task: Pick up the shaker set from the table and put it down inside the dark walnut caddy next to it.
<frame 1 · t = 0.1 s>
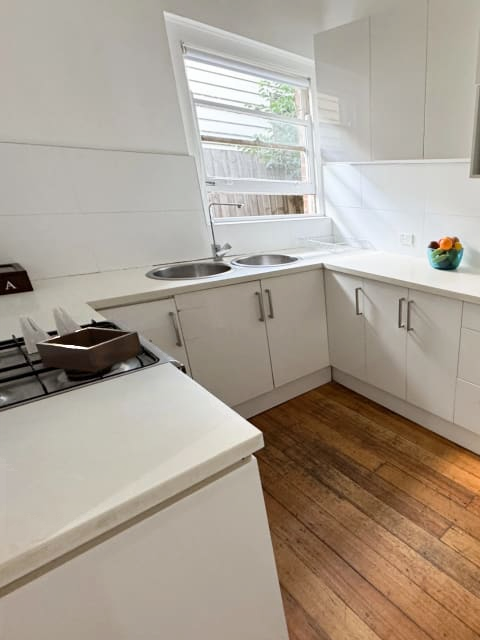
caddy: (95, 358, 95), on the worktop
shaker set: (60, 347, 102), on the worktop
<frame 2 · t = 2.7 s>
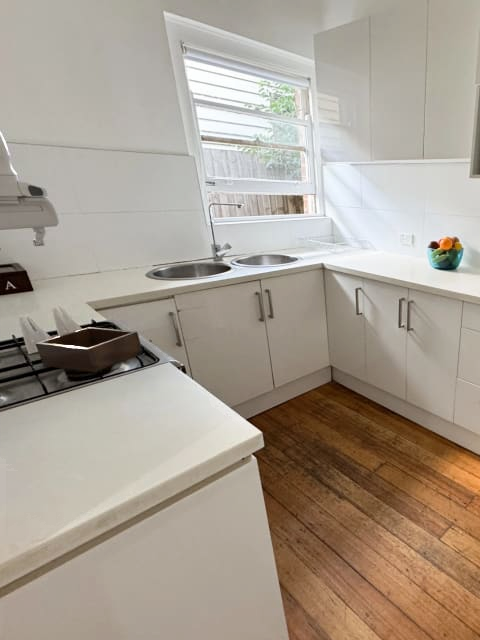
hand: (18, 248, 95), 26 cm above the worktop, tool pointing down, fingers open, 8 cm apart
nothing on the worktop moved.
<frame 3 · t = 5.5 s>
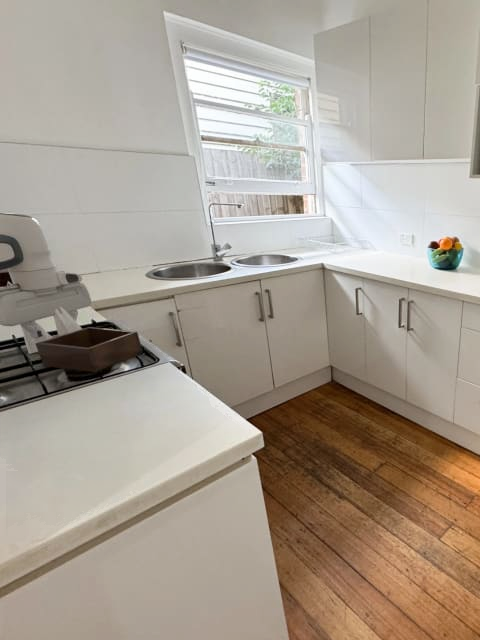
hand: (55, 332, 101), 4 cm above the worktop, tool pointing down, fingers closed on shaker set, 7 cm apart
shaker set: (60, 348, 102), on the worktop, touching gripper
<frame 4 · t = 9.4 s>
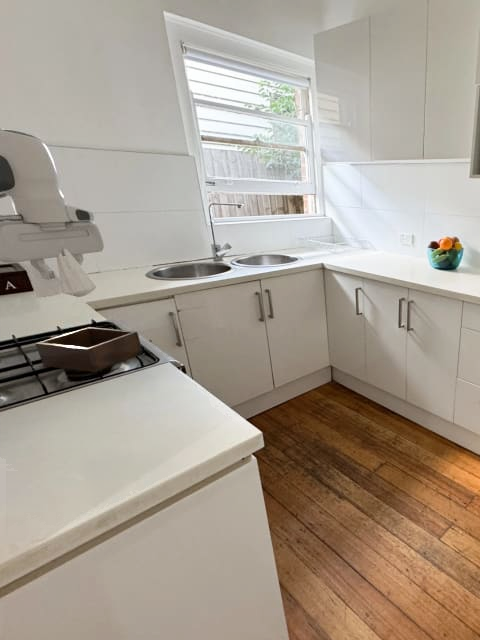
hand: (63, 276, 88), 21 cm above the worktop, tool pointing down, fingers closed on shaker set, 4 cm apart
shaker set: (68, 297, 90), point 16 cm above the worktop, touching gripper
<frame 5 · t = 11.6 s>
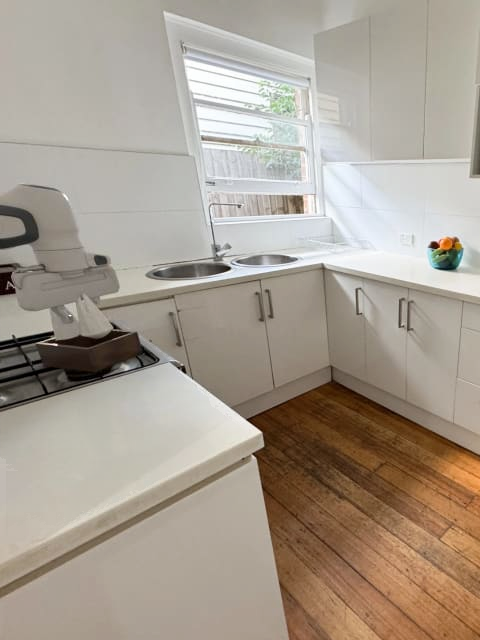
hand: (81, 319, 91), 10 cm above the worktop, tool pointing down, fingers closed on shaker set, 4 cm apart
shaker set: (86, 338, 93), point 6 cm above the worktop, touching gripper
when the fingers open (5 cm above the worktop, at t = 13.3 s): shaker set stays where it is, resting on caddy.
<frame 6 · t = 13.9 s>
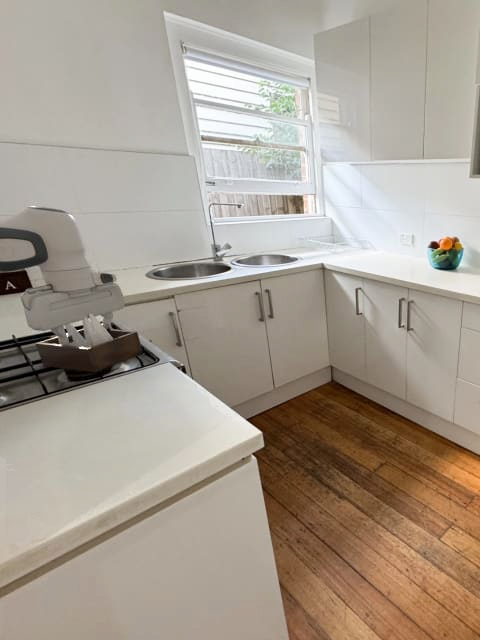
hand: (88, 336, 93), 6 cm above the worktop, tool pointing down, fingers open, 8 cm apart
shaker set: (92, 356, 95), point 1 cm above the worktop, touching caddy
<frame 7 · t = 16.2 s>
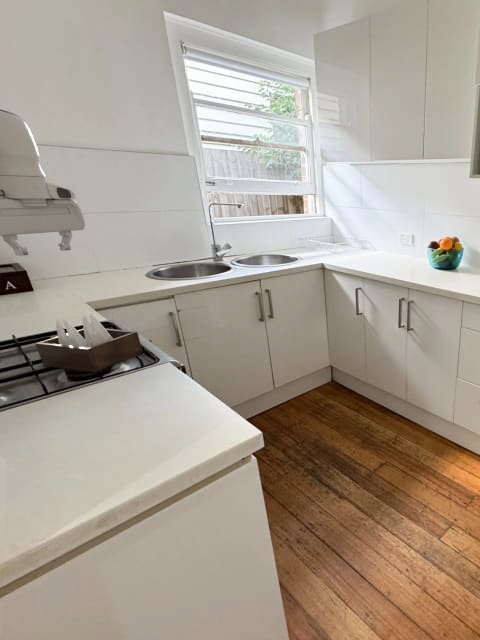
hand: (45, 252, 91), 25 cm above the worktop, tool pointing down, fingers open, 8 cm apart
nothing on the worktop moved.
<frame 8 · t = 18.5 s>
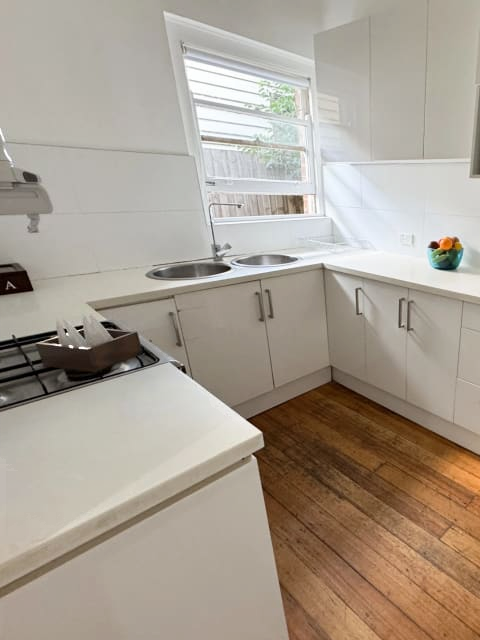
hand: (12, 234, 95), 29 cm above the worktop, tool pointing down, fingers open, 8 cm apart
nothing on the worktop moved.
at the end: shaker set inside the target area in the caddy (0.4 cm from its centre), point 0.6 cm above the caddy's base; the gripper is holding nothing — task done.
